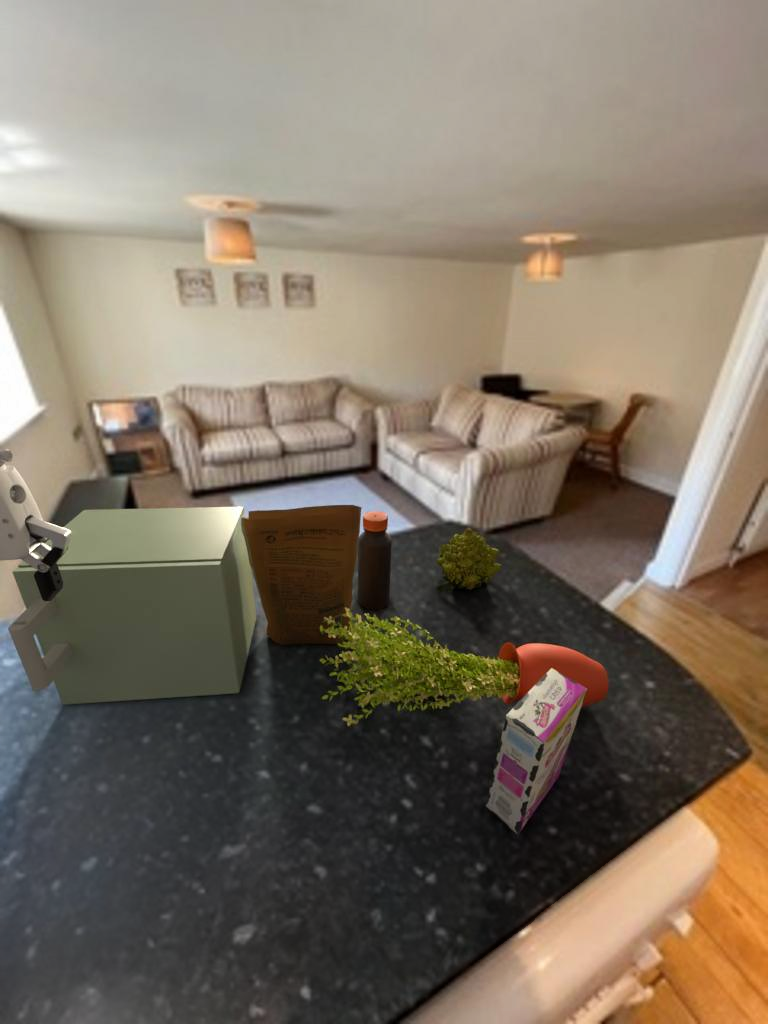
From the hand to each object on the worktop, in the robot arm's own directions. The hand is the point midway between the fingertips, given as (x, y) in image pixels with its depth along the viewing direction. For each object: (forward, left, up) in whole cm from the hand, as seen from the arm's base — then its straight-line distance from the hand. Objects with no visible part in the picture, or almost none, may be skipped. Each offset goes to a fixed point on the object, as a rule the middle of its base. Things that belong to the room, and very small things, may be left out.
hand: (10, 596), depth 54 cm
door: (+10, +3, -24) cm, 26 cm away
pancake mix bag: (+34, +18, -24) cm, 46 cm away
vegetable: (+69, +35, -24) cm, 81 cm away
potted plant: (+58, +3, -24) cm, 63 cm away
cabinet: (+10, +16, -24) cm, 31 cm away
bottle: (+47, +29, -24) cm, 60 cm away
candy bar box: (+63, -14, -24) cm, 69 cm away
